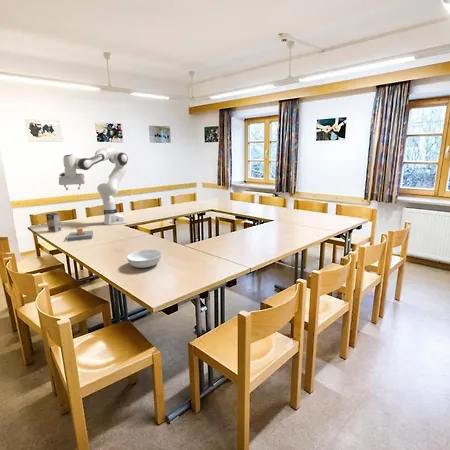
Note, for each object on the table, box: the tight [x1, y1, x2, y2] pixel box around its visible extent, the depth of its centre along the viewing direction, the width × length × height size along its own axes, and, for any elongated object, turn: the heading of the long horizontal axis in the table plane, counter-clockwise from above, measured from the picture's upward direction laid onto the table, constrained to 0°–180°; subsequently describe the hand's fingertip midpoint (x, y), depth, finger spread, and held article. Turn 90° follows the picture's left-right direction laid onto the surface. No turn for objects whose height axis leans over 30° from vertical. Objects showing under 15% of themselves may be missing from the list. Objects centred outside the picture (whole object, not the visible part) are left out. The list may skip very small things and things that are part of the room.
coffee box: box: [45, 212, 62, 233], centre depth 268 cm, size 9×6×16 cm
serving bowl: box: [126, 248, 162, 269], centre depth 187 cm, size 21×21×7 cm
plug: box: [76, 226, 84, 235], centre depth 248 cm, size 4×5×8 cm
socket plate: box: [66, 230, 94, 242], centre depth 249 cm, size 18×16×3 cm
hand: (73, 189), depth 262 cm, fingers open, 8 cm apart
